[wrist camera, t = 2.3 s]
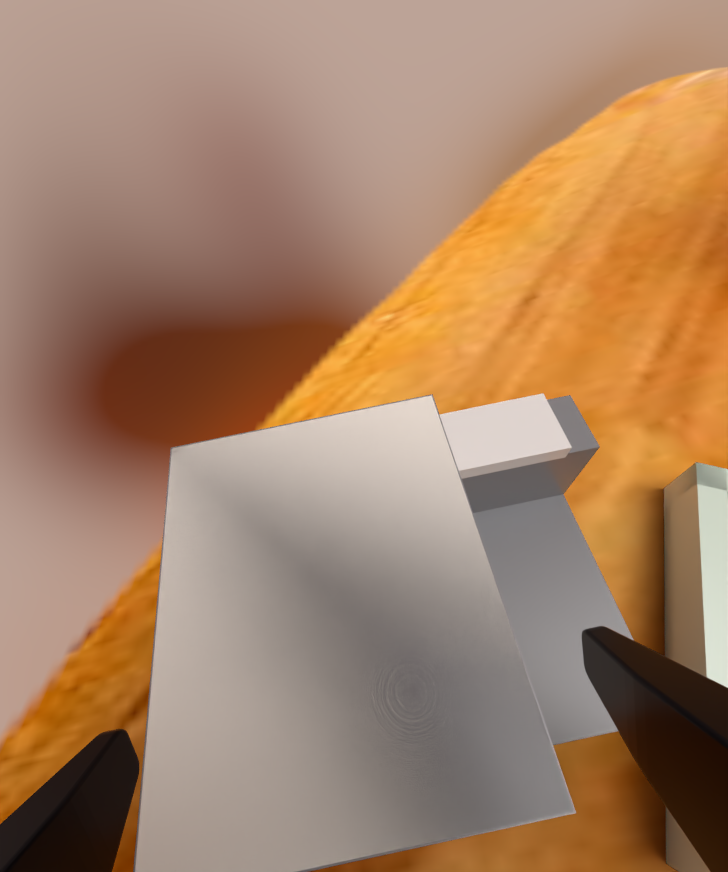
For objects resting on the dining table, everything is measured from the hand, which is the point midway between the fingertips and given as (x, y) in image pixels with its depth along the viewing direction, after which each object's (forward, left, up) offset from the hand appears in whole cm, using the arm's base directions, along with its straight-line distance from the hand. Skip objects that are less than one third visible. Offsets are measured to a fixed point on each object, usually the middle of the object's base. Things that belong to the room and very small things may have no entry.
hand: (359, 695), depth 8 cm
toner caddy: (+1, +1, -9) cm, 9 cm away
